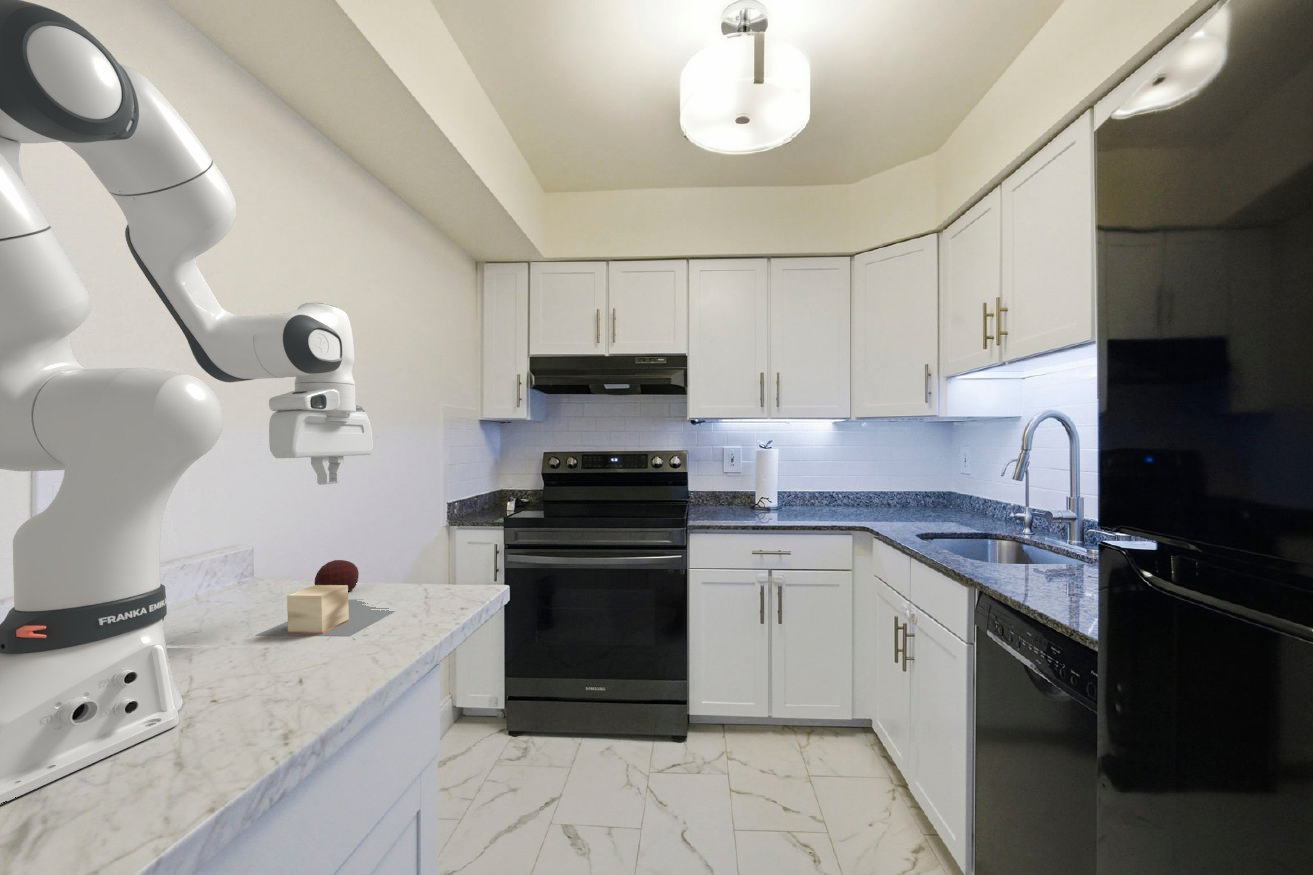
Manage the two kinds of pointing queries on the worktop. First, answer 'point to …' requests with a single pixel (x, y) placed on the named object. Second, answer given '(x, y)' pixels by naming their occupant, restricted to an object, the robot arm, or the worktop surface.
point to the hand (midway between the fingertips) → (328, 483)
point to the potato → (338, 574)
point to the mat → (357, 621)
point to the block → (317, 609)
